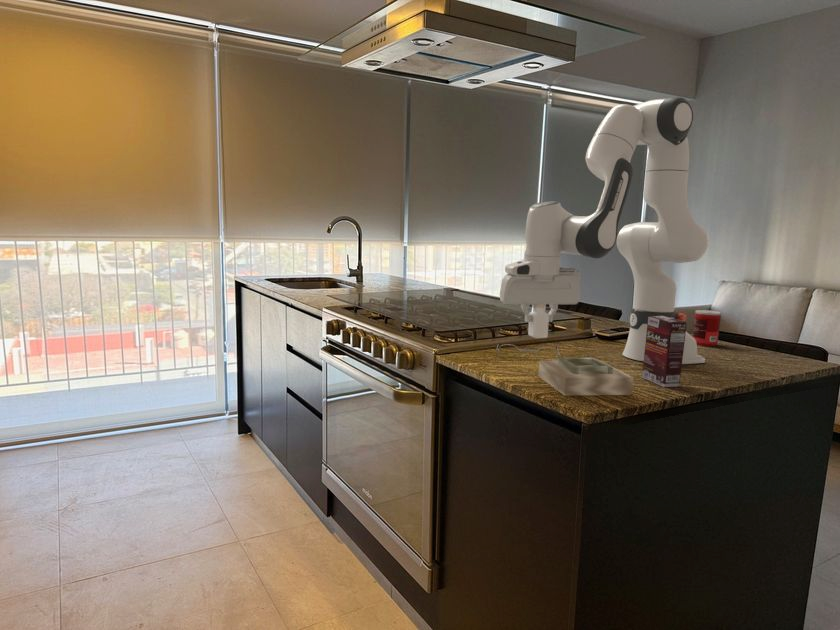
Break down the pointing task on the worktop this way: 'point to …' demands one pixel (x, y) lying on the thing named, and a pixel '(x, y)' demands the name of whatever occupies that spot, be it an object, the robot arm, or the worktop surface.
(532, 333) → the pepper shaker
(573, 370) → the block
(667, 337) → the supplement box
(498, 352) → the eyeglasses
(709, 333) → the canned food
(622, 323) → the worktop surface
